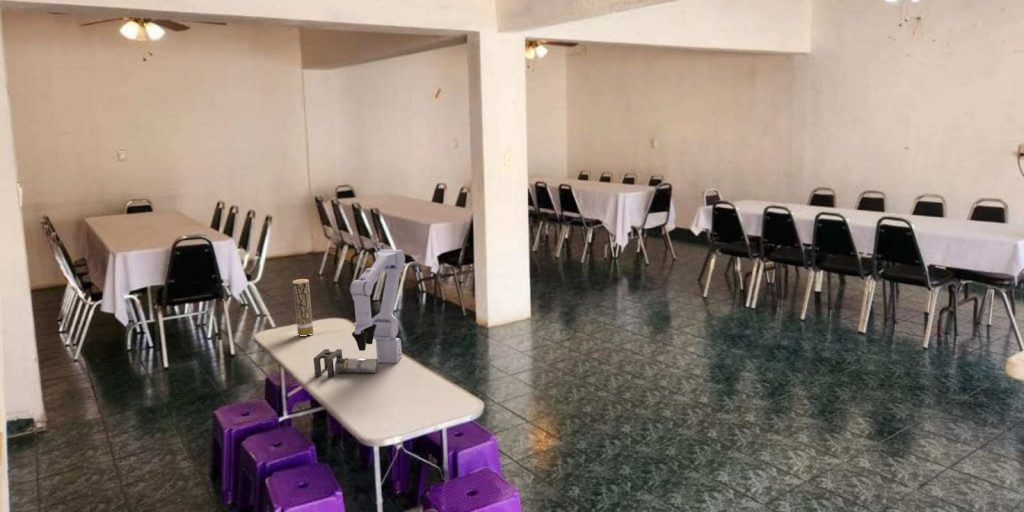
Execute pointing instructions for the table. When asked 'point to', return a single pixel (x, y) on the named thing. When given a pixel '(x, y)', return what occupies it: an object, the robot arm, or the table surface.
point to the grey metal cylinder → (356, 365)
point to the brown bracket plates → (326, 361)
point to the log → (303, 306)
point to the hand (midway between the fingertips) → (365, 347)
